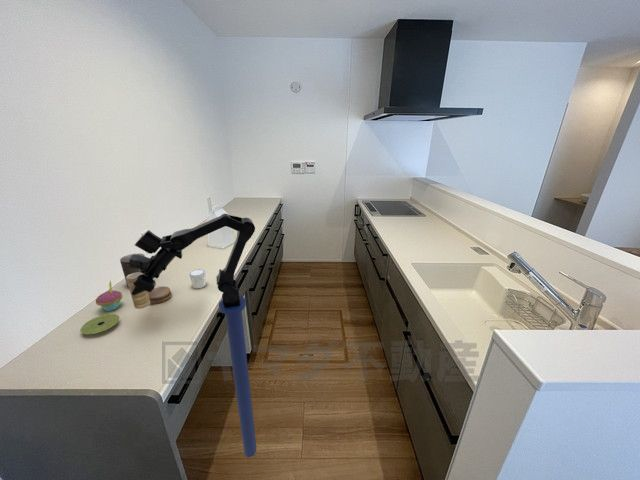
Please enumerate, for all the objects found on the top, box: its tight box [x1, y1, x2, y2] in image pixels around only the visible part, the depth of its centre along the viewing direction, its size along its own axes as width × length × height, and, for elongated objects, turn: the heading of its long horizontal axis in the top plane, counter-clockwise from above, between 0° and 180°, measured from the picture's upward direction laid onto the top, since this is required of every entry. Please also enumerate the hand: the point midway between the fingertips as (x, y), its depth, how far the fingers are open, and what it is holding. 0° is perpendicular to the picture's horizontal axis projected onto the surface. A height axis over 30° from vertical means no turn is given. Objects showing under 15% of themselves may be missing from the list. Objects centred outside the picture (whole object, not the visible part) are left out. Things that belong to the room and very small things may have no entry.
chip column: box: [125, 272, 151, 310], centre depth 99 cm, size 5×5×13 cm
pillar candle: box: [119, 252, 146, 288], centre depth 124 cm, size 10×10×15 cm
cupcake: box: [95, 280, 123, 312], centre depth 106 cm, size 9×8×12 cm
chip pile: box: [148, 286, 173, 305], centre depth 114 cm, size 10×10×3 cm
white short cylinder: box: [188, 268, 207, 289], centre depth 124 cm, size 7×7×7 cm
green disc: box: [80, 313, 120, 335], centre depth 97 cm, size 11×11×2 cm
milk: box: [205, 204, 236, 250], centre depth 169 cm, size 12×12×26 cm
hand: (134, 290), depth 98 cm, fingers closed on chip column, 5 cm apart
